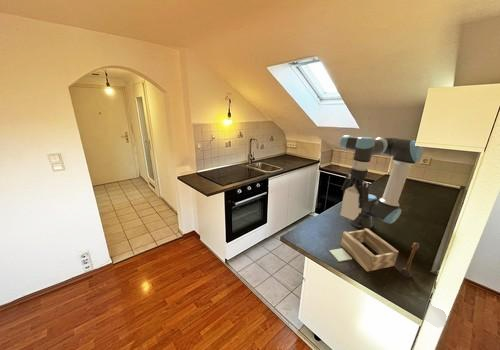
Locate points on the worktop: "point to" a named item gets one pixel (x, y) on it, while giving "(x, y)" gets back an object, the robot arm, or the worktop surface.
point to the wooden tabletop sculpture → (409, 262)
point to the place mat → (340, 254)
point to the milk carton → (350, 203)
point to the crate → (363, 255)
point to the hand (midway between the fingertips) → (350, 208)
